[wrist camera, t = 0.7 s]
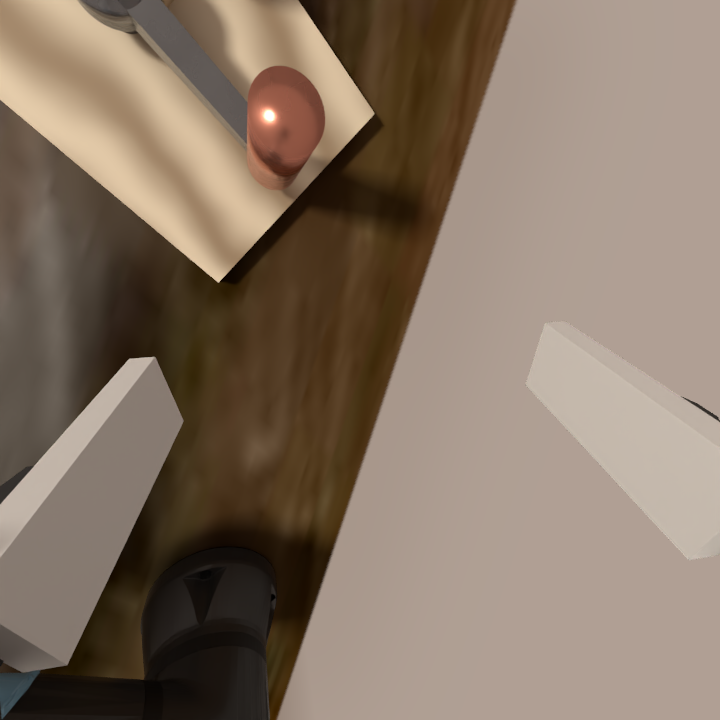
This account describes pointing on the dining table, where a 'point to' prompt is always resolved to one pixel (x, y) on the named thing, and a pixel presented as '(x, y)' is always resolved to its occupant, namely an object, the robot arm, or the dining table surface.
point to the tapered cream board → (171, 112)
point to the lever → (231, 92)
